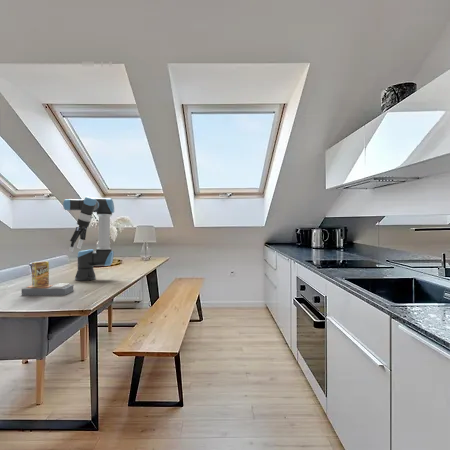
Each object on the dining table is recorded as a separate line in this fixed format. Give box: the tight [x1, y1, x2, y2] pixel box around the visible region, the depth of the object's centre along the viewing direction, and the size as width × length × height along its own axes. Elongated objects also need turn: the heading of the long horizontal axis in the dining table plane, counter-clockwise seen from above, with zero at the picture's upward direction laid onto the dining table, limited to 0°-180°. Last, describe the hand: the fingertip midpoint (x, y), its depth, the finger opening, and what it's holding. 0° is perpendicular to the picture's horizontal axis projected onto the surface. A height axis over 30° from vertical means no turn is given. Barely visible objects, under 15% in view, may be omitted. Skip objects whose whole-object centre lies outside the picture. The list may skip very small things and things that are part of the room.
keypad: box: [21, 282, 74, 296], centre depth 222 cm, size 14×26×5 cm, turn 93°
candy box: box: [31, 261, 50, 287], centre depth 221 cm, size 9×4×15 cm, turn 146°
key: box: [26, 284, 54, 288], centre depth 222 cm, size 8×13×2 cm, turn 93°
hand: (74, 250), depth 232 cm, fingers open, 13 cm apart
